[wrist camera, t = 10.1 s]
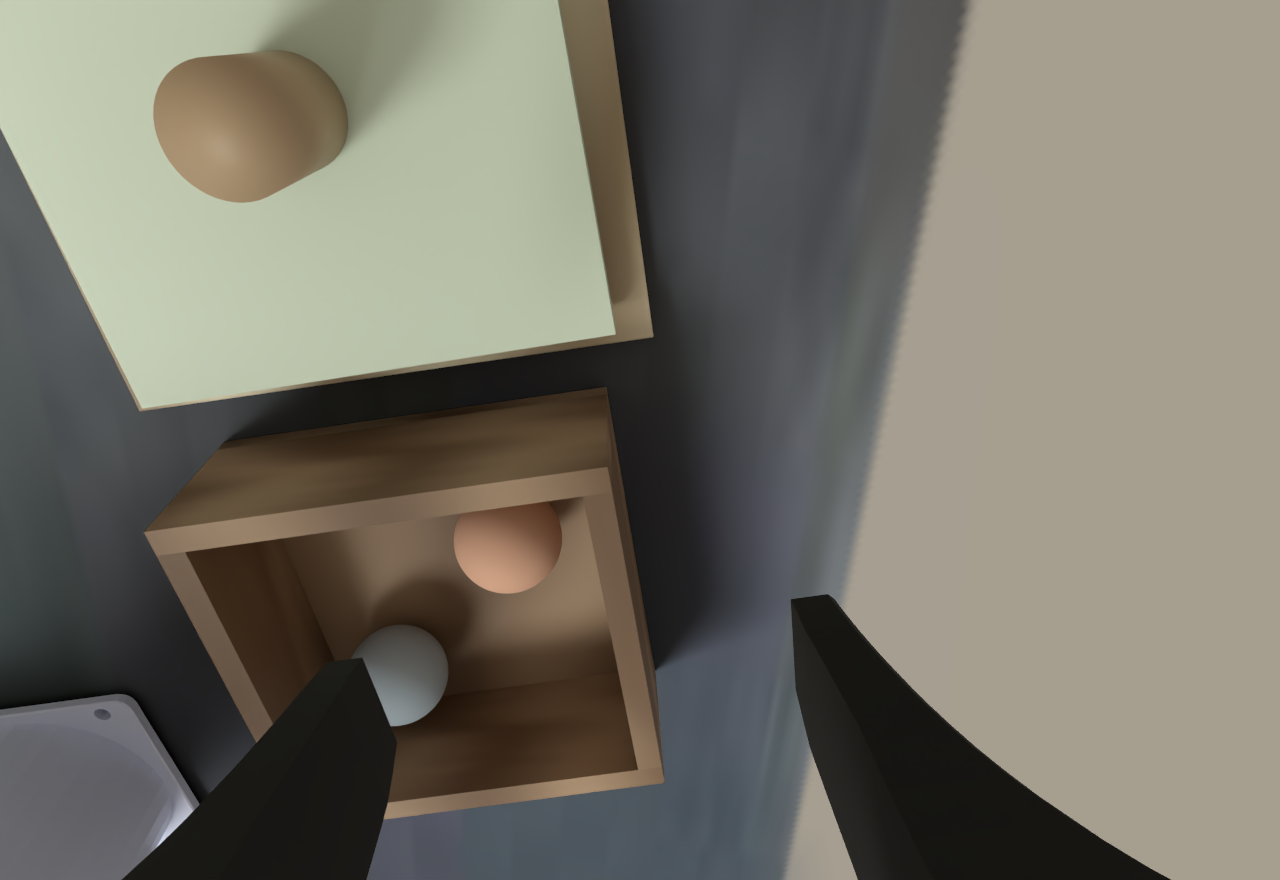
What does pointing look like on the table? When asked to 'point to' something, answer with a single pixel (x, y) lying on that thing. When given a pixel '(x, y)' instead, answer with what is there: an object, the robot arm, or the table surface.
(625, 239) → the board
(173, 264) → the lid
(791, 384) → the table surface
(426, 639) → the ball
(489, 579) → the ball
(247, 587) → the box
